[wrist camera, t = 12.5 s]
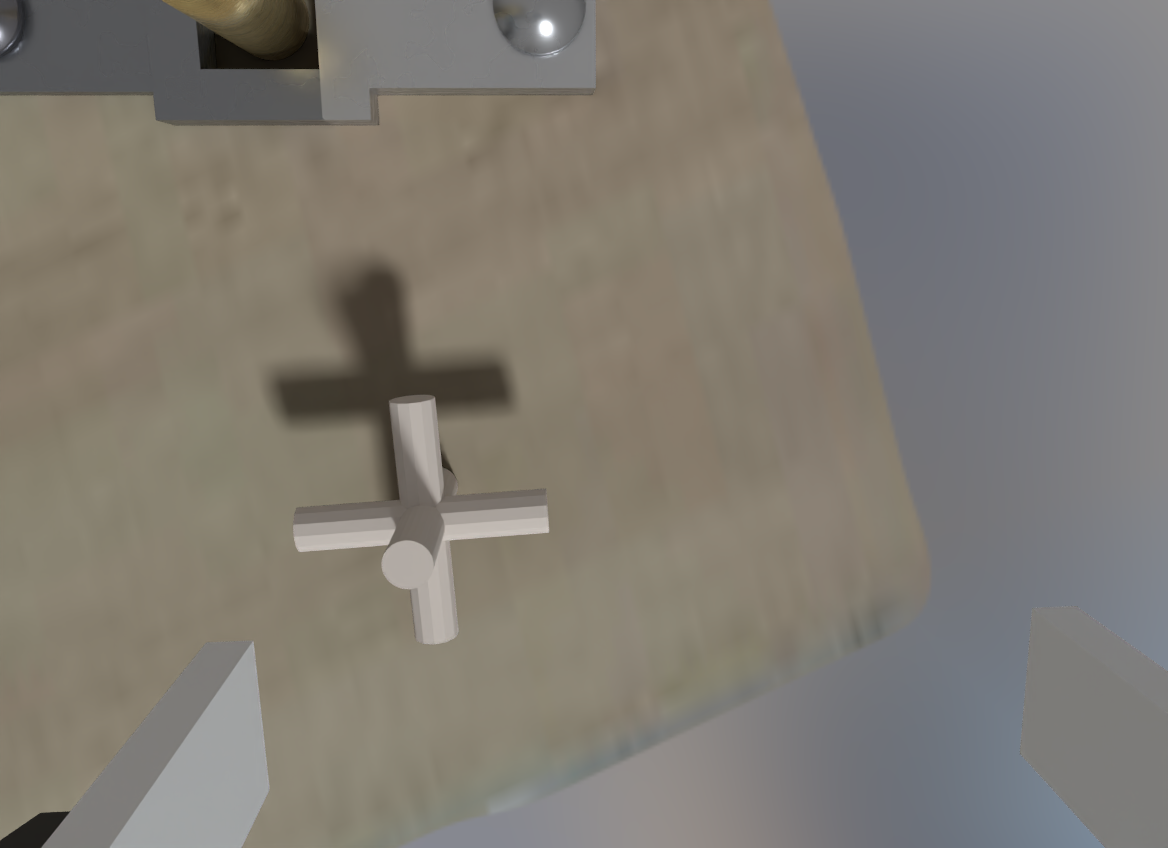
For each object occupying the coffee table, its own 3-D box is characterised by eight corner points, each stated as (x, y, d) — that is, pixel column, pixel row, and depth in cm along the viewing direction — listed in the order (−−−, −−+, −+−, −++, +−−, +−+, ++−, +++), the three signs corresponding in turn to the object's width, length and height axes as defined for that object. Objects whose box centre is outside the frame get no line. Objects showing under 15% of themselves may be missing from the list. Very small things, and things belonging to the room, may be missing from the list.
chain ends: (-48, 125, 38) (-90, 118, 35) (-81, -99, 36) (-128, -123, 33) (592, 124, 39) (596, 117, 36) (592, -93, 37) (595, -116, 35)
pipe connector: (314, 386, 41) (244, 437, 31) (538, 370, 41) (538, 415, 31) (341, 596, 43) (283, 705, 33) (554, 579, 43) (559, 683, 34)
